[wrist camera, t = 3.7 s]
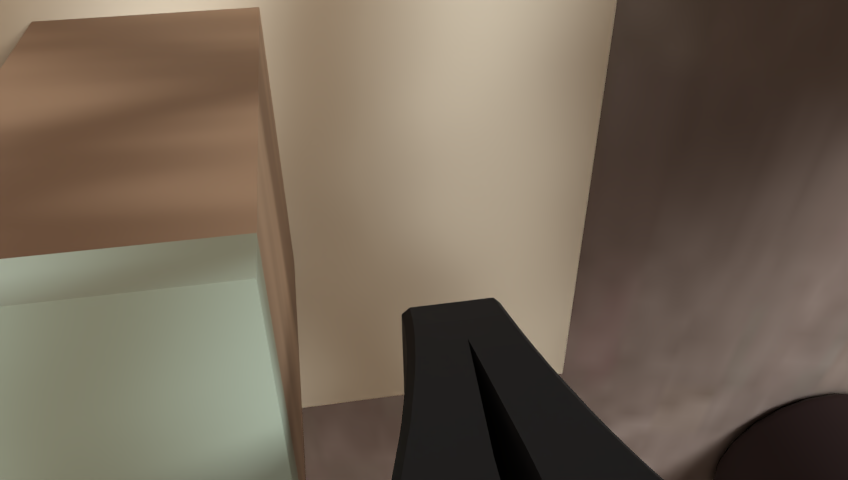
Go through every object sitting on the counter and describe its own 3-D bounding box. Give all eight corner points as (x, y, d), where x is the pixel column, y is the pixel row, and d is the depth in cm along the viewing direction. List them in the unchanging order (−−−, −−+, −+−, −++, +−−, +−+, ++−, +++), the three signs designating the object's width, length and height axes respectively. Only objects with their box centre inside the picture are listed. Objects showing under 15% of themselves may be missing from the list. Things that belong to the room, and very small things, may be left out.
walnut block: (259, 7, 14) (256, 279, 8) (294, 261, 18) (311, 589, 11) (31, 21, 14) (-169, 324, 7) (114, 280, 17) (28, 635, 11)
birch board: (640, -333, 13) (665, -333, 12) (551, 348, 22) (562, 373, 22) (-1149, -321, 10) (-1275, -321, 9) (-365, 465, 19) (-392, 499, 18)
